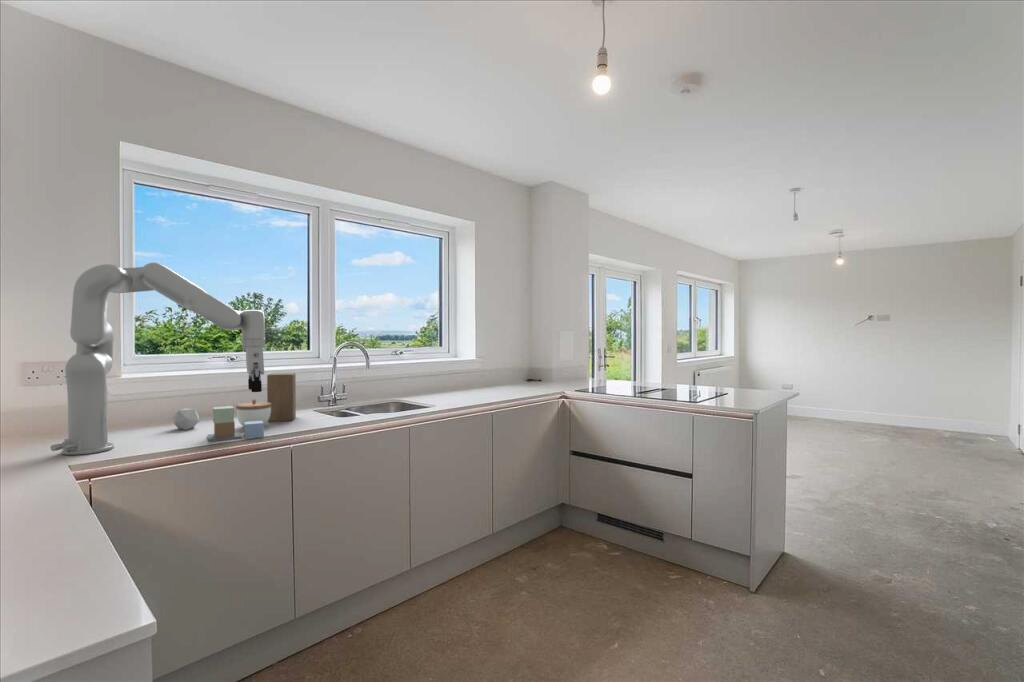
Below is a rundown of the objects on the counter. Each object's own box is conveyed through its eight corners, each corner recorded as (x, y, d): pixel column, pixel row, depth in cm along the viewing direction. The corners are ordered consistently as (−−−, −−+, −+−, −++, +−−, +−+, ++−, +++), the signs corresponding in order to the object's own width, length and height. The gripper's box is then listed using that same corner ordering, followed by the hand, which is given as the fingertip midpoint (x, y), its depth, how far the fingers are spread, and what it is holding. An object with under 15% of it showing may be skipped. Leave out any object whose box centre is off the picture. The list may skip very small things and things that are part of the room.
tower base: (241, 438, 176) (241, 422, 176) (208, 441, 170) (208, 424, 170) (239, 433, 184) (238, 418, 184) (207, 436, 179) (207, 420, 179)
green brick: (233, 421, 176) (233, 407, 176) (214, 423, 173) (214, 409, 173) (232, 419, 181) (232, 405, 181) (213, 421, 178) (212, 407, 178)
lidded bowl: (238, 431, 189) (238, 402, 189) (234, 426, 199) (234, 398, 199) (274, 427, 196) (274, 399, 196) (268, 422, 207) (268, 396, 206)
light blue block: (263, 436, 180) (263, 423, 180) (245, 438, 177) (244, 424, 176) (262, 433, 185) (262, 420, 185) (244, 435, 182) (244, 421, 182)
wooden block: (271, 418, 218) (270, 372, 217) (295, 417, 221) (295, 372, 220) (267, 422, 208) (266, 374, 208) (293, 420, 211) (292, 374, 211)
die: (204, 429, 195) (202, 408, 200) (190, 422, 188) (188, 400, 192) (183, 437, 194) (182, 415, 199) (168, 430, 187) (167, 408, 191)
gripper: (268, 344, 175) (269, 392, 175) (262, 343, 189) (263, 387, 190) (244, 344, 171) (245, 393, 171) (239, 343, 185) (241, 389, 186)
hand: (255, 390), depth 181 cm, fingers open, 9 cm apart
